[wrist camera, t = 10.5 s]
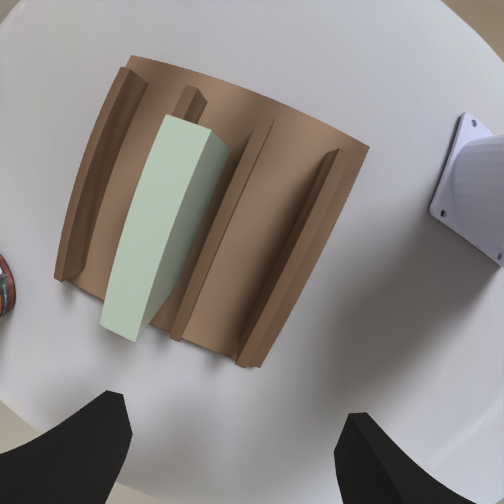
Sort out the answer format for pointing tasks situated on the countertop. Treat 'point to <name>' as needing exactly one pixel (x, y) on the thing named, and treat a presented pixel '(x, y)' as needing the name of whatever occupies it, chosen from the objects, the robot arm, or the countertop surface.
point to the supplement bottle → (6, 288)
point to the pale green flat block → (162, 223)
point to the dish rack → (214, 204)
